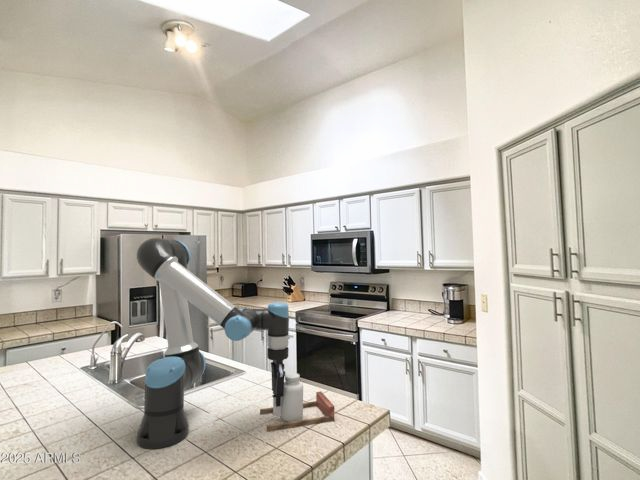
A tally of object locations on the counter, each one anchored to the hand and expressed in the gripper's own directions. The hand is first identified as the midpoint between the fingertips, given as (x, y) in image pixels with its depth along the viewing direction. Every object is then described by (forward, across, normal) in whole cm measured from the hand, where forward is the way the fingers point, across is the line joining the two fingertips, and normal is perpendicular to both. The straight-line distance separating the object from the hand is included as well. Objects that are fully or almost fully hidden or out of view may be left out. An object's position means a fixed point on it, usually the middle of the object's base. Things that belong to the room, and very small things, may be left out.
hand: (277, 414), depth 120 cm
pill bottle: (+2, 0, -6) cm, 6 cm away
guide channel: (+2, 0, -7) cm, 7 cm away
